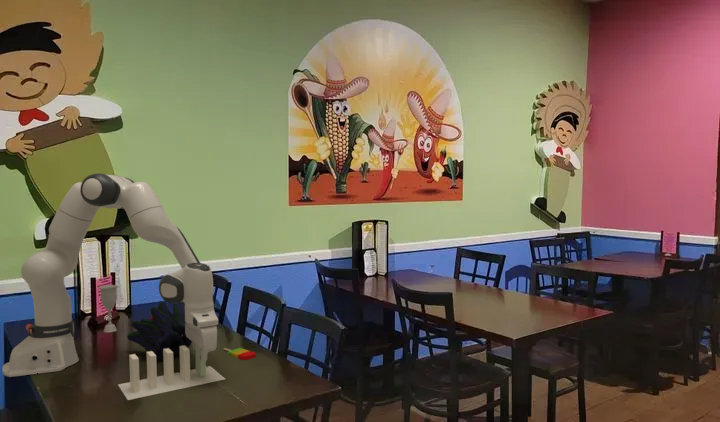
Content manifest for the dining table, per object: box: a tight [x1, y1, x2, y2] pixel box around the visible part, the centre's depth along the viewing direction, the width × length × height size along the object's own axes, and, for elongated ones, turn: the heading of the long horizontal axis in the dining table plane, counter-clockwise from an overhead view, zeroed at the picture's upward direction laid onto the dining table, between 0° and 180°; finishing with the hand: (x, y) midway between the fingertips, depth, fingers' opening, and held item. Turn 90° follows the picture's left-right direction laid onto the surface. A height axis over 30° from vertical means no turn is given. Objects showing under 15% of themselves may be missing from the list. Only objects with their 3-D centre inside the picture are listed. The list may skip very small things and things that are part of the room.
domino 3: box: [163, 348, 175, 385], centre depth 178 cm, size 2×5×10 cm, turn 33°
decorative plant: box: [126, 301, 192, 362], centre depth 210 cm, size 21×26×30 cm
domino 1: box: [128, 353, 140, 393], centre depth 172 cm, size 2×5×10 cm, turn 33°
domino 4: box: [179, 345, 191, 382], centre depth 181 cm, size 2×5×10 cm, turn 34°
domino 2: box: [146, 351, 158, 389], centre depth 175 cm, size 2×5×10 cm, turn 34°
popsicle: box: [223, 347, 256, 361], centre depth 206 cm, size 6×15×2 cm, turn 51°
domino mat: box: [117, 365, 226, 401], centre depth 179 cm, size 29×14×1 cm, turn 124°
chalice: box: [98, 284, 119, 333], centre depth 234 cm, size 7×7×18 cm
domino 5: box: [195, 344, 207, 376], centre depth 183 cm, size 2×5×10 cm, turn 34°
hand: (200, 357), depth 183 cm, fingers closed on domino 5, 5 cm apart
